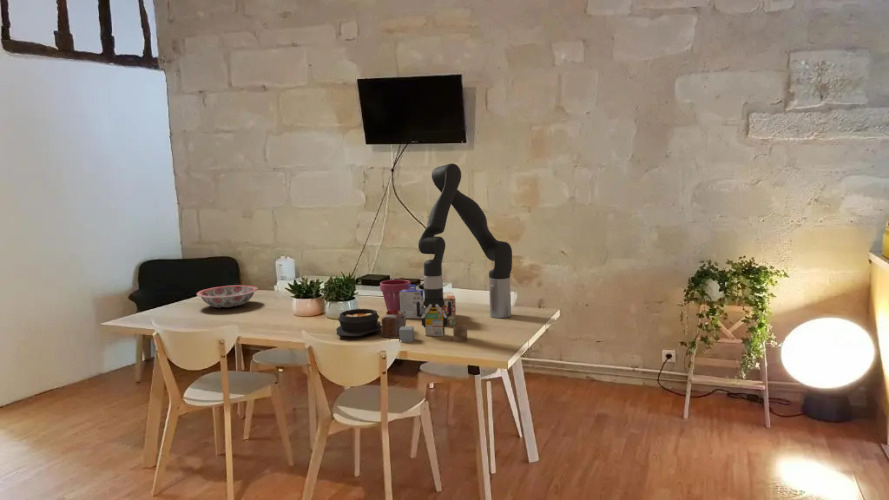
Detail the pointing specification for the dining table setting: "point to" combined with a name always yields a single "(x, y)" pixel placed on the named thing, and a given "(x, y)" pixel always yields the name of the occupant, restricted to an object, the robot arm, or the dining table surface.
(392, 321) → the food item
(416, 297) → the ink cartridge box
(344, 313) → the casserole
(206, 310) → the dining table surface
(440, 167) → the robot arm
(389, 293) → the plant pot
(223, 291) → the ceramic bowl
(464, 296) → the dining table surface
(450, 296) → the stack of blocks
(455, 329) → the walnut block
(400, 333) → the slate-grey block
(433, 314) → the crayon box
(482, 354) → the dining table surface
